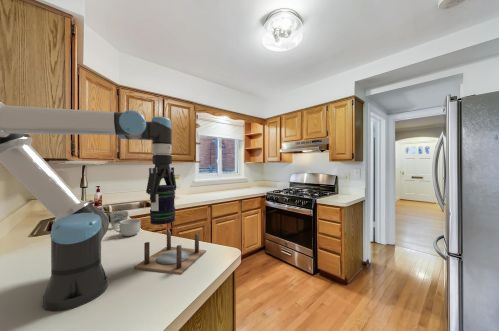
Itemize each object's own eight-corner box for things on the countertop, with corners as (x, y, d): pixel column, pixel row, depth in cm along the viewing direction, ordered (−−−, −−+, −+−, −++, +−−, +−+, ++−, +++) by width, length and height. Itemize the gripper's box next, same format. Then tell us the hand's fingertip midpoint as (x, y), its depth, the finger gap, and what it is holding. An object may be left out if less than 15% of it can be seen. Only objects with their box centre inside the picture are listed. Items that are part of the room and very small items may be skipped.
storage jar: (154, 226, 79) (154, 187, 79) (146, 221, 86) (146, 186, 86) (179, 221, 86) (179, 185, 86) (170, 217, 93) (169, 184, 93)
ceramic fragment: (109, 229, 129) (109, 213, 129) (108, 228, 132) (108, 212, 132) (128, 225, 136) (129, 210, 136) (127, 224, 139) (127, 210, 139)
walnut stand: (181, 276, 73) (181, 249, 74) (134, 270, 78) (134, 245, 78) (206, 253, 93) (206, 232, 93) (167, 249, 98) (167, 229, 98)
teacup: (137, 230, 127) (137, 217, 127) (143, 234, 119) (143, 220, 119) (110, 235, 117) (110, 221, 117) (115, 240, 109) (115, 225, 109)
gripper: (152, 153, 74) (153, 214, 75) (184, 155, 97) (184, 203, 97) (134, 153, 76) (135, 213, 76) (169, 156, 98) (170, 202, 98)
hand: (163, 207), depth 86 cm, fingers closed on storage jar, 10 cm apart
